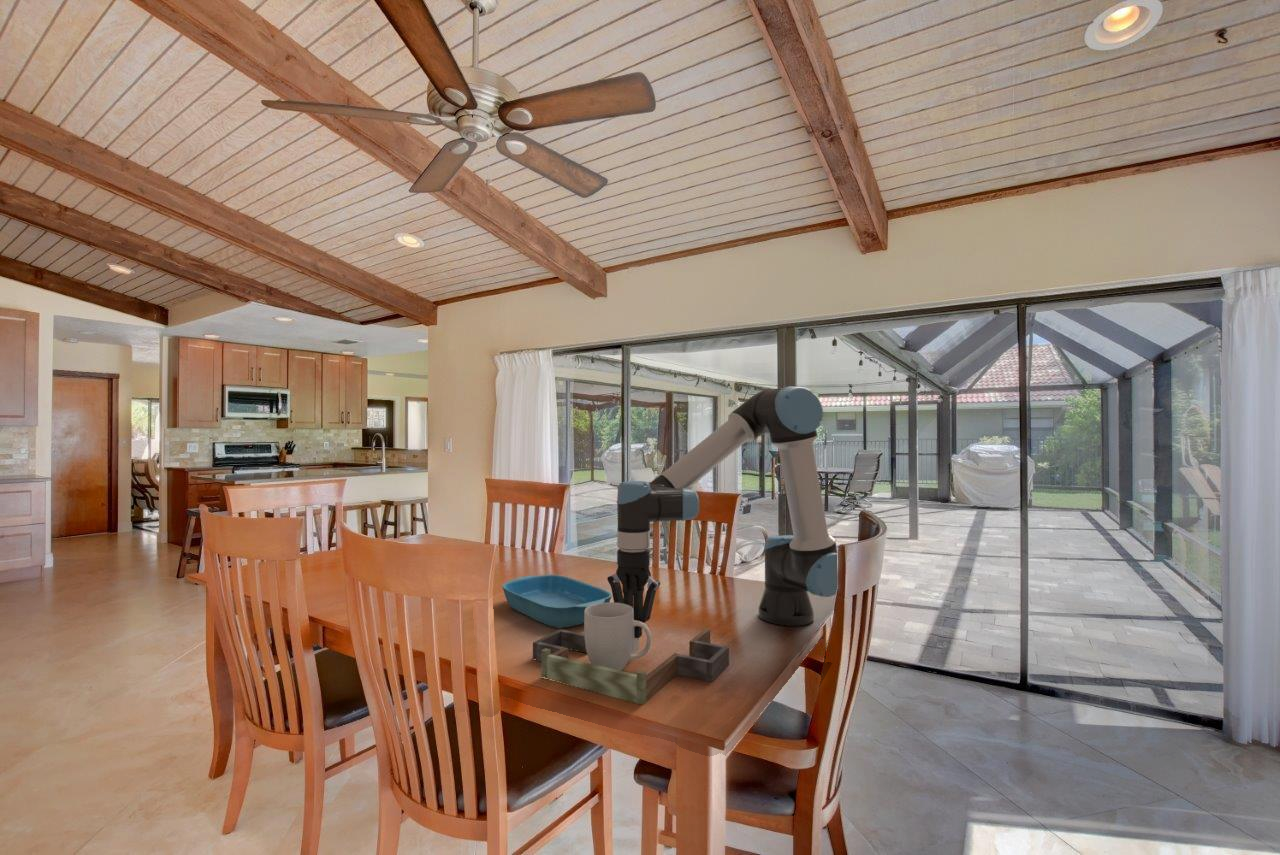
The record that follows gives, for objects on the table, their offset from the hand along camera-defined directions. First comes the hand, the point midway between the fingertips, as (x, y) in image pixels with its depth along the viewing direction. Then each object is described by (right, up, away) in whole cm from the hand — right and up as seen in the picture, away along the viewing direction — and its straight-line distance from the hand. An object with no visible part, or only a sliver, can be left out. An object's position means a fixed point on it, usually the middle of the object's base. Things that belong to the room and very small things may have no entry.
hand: (633, 650), depth 134 cm
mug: (-4, -2, -5) cm, 7 cm away
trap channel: (0, -2, -1) cm, 2 cm away
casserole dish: (-23, -3, +35) cm, 42 cm away
